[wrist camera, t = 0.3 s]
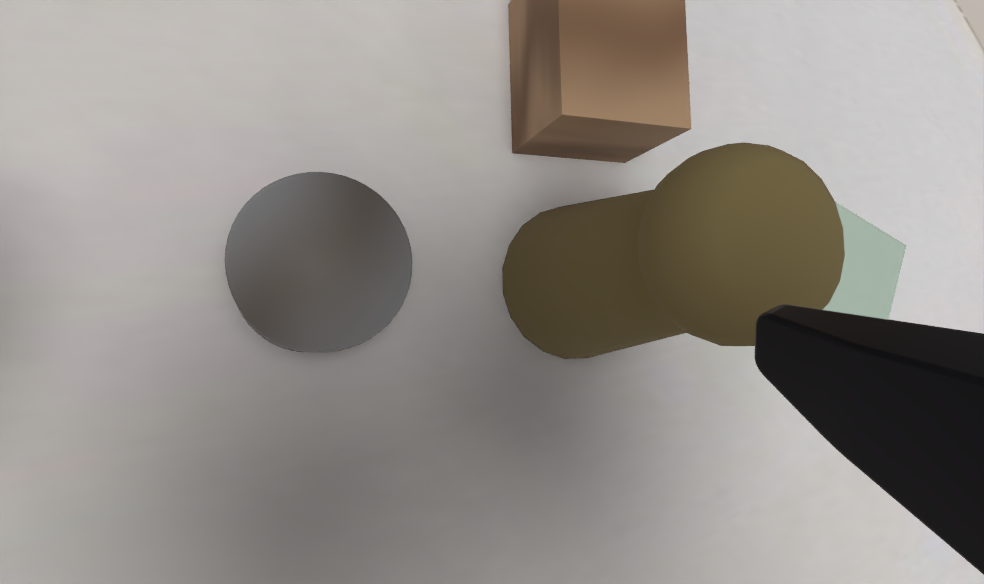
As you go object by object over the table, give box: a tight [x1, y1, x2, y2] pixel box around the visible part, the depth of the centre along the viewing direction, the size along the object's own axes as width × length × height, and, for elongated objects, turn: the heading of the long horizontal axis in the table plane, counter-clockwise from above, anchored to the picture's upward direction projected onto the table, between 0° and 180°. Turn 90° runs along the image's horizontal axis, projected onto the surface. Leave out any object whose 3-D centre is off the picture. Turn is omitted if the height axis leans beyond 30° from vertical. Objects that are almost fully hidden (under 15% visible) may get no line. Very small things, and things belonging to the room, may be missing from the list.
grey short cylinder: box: [225, 172, 412, 352], centre depth 20 cm, size 5×5×4 cm
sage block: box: [823, 202, 906, 319], centre depth 27 cm, size 5×5×4 cm
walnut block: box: [508, 0, 691, 163], centre depth 24 cm, size 6×5×4 cm
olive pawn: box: [503, 143, 845, 359], centre depth 20 cm, size 6×6×11 cm
